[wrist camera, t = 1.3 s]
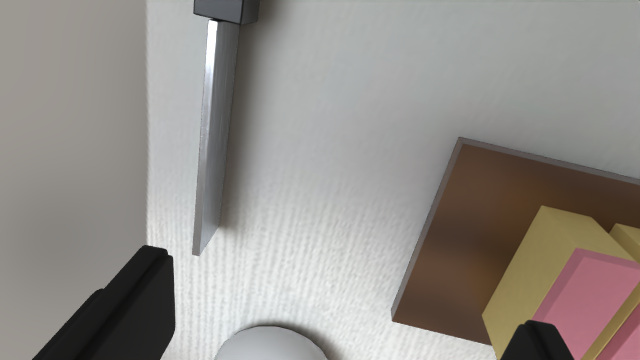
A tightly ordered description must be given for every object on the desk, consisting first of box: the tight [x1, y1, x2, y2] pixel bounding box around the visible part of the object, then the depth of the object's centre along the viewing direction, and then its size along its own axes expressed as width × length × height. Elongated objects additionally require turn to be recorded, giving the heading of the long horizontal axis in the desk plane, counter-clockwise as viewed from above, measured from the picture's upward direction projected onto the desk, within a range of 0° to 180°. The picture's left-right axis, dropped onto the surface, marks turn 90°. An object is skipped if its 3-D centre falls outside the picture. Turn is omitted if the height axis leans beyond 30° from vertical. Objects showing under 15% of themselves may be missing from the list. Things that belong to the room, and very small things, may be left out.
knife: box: [192, 0, 260, 256], centre depth 21 cm, size 20×2×4 cm, turn 168°
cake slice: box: [482, 206, 640, 360], centre depth 22 cm, size 9×3×5 cm, turn 168°
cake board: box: [391, 137, 640, 346], centre depth 25 cm, size 14×20×1 cm
